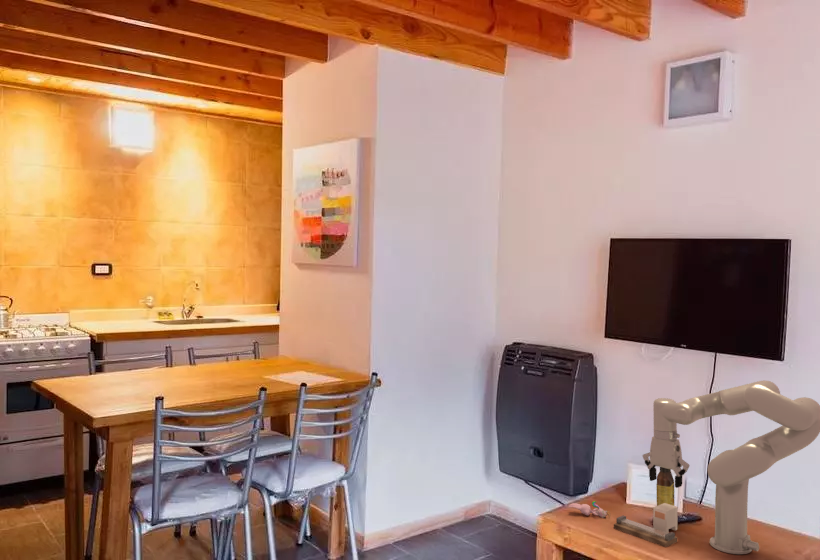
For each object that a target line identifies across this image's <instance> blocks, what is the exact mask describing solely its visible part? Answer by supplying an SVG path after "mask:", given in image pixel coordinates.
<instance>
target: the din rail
mask: <svg viewBox="0 0 820 560" xmlns="http://www.w3.org/2000/svg"><path fill="white" fill-rule="evenodd" d="M615 523H618V524H622V525H625V526H628V527H631V528H633V529H636V530H639V531H642V532H645V533H648V534H650V535H653V536H656V537H659V538H662V539H665V540H666V541H670V540H672V539H674V538H675V537H676V533H675V532H673V531H670V532H669V533H666V532H663V531H660V530H658V529H655V528H653V526H652V527H651V526H648V525H645V524H643V523H640V522H638V521H634V520H631V519H628V518H627V516H626V515H621V516H618V517H616V522H615Z"/></svg>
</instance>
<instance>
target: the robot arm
mask: <svg viewBox="0 0 820 560" xmlns="http://www.w3.org/2000/svg"><path fill="white" fill-rule="evenodd" d="M652 407H653V411H652V412H653V436H652V437H651V441H650V448H649V452H647V453H643V454H642V455H641V456H642V459H643V460H644V464H645V465H646V467H647V469H648V478H649V481H651V482H653V481H655V480H656V481H657V468H656V467H659V468H660V467H663V468H667V469H671V470H672V471H673V472H674V474H675V476H674V488H676V489H677V488H681V487H682V486H683V476H684V475H685V474H686V473H687V472H688V470H689V468H690V464H689V463H688V462H687V461H685V460H684V459H683V455H682V447H681V442H680V439H678V438H680V437H681V435H680V434H679V433H678V431H677V430H678V428H677V427H678V426H677V425H684V426H689V425H691V424H693V423H695V422H696V421H699V420H701V419H705V418H709V417H715V416H720V415H727V416H736V415H741V414H745V413H750V412H753V411H754V412H755V413H757V414H759V415H761V416H763V418H764V417H765V418H766V419H768V420H770V421H772V422H775V423H776V424H779V425H780V426H779V427H777V428H775V429H773V430H770V431H769V432H767V433H765V434H762V435H761V436H757V437H753V438H752V439H749V440H747V441H746V442H745V443H744V444H742V445H740V446H738V447H735V448H734V449H728V450H724V451H722V452H721V453H719V454H718V455H716V456H715V457H714V458H712V459H711V460H710V461H709V463H708V465H707V469H706V470H707V475H708V478H709V480H710V481H711V482H712V483H713V484H715V497H714V498H715V499H714V500H715V501H714V502H715V506H714V508H715V509H714V513H715V514H714V520H715V521H714V536H712V537H710V538H709V544H710V546H711V547H712V548H714V549H715V550H718V551H720V552H722V553H723V552H724V553H727V554H730V555H731V554H732V555H747V554H750V553H751V552H752V551H755V552H759V551H760V545H759V542H756V541H753V540H752V539H751V535H749V534H748V501H749V500H748V497H749V483H750V479H753V478H756V477H757V476H759V475H761V474H764V473H765V472H766V471H768V470H769V469H771V467H772V466H774V465H775V464H776V463H777V462H779V461H781V460H783V459H785V458H787V457H789V456H791V455H793V454H795V453H798V452H799V451H802V450H803V449H804V448H806V447H808V446H810V445H811V444H812V443H813V442H814V441H815V440H816V439H817V437H818V436H819V435H820V404H819V402H817V401H816V400H815V399H813V398H810V397H806V396H805V397H798V398H796V399H795V398H794V400H793V399H792V398H789V397H787V396H784V395H782V394H781V391H780V388H779V387H778V386H777V384H775V383H774V382H773V381H770V380H759V381H754V382H751V383H746V384H743V385H738V386H734V387H730V388H726V389H722V390H719V391H716V392H711V393H708V394H702V395H699V396H695V397H690V398H688V399H685V400H683V401H680V402H677V401H676V400H674V399H672V398H667V397H666V398H665V397H661V398H655V399H654V401H653V406H652Z"/></svg>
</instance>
